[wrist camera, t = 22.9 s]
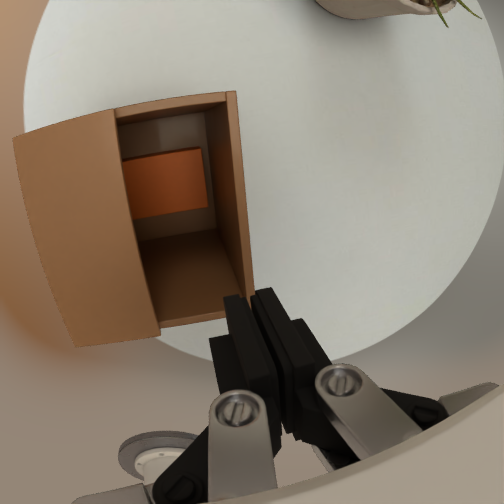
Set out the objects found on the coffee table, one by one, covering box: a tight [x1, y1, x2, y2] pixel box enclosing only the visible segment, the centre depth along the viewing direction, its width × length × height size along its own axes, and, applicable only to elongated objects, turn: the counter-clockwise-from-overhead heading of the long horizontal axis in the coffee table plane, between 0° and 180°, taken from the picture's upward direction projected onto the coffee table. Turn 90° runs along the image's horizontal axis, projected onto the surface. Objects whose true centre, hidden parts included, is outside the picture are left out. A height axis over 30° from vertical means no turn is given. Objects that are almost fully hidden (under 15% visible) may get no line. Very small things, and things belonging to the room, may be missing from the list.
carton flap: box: [13, 109, 161, 347], centre depth 14 cm, size 12×5×1 cm, turn 5°
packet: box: [122, 146, 208, 220], centre depth 26 cm, size 8×5×3 cm, turn 95°
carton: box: [115, 91, 255, 329], centre depth 22 cm, size 12×11×14 cm
